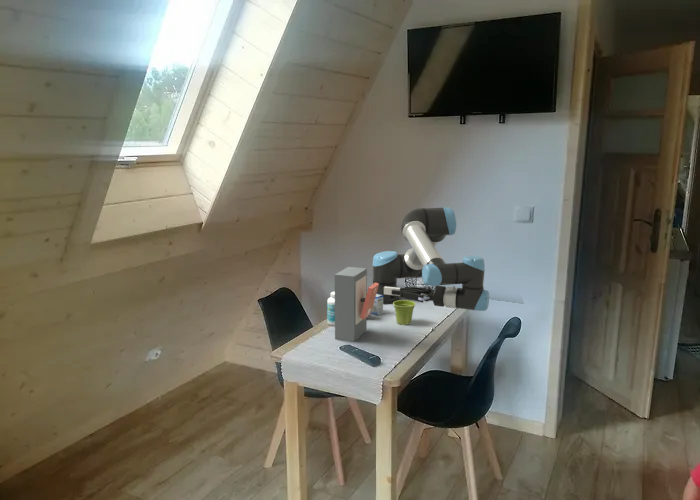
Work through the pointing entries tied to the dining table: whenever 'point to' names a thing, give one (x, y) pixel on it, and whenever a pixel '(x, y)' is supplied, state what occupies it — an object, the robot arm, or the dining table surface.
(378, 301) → the medicine box
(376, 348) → the dining table surface
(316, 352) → the dining table surface
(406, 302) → the plant pot
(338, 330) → the switch panel
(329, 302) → the pill bottle
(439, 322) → the dining table surface
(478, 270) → the robot arm
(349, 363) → the dining table surface
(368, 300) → the salmon pink panel
